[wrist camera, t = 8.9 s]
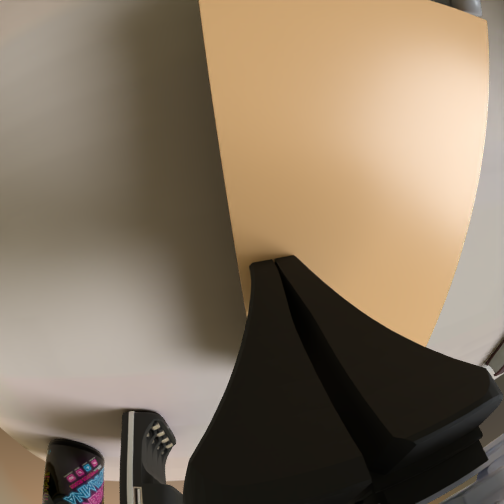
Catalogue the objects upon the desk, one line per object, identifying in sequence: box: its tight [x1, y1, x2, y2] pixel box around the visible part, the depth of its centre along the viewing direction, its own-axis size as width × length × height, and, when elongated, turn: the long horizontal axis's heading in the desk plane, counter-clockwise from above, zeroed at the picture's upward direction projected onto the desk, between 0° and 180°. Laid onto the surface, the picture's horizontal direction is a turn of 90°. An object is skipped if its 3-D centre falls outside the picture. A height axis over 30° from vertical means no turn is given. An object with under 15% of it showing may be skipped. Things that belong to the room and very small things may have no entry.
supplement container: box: [42, 439, 104, 504], centre depth 21 cm, size 7×7×10 cm
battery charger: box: [120, 411, 183, 504], centre depth 18 cm, size 7×4×11 cm, turn 1°
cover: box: [198, 0, 489, 347], centre depth 11 cm, size 9×18×1 cm, turn 6°
